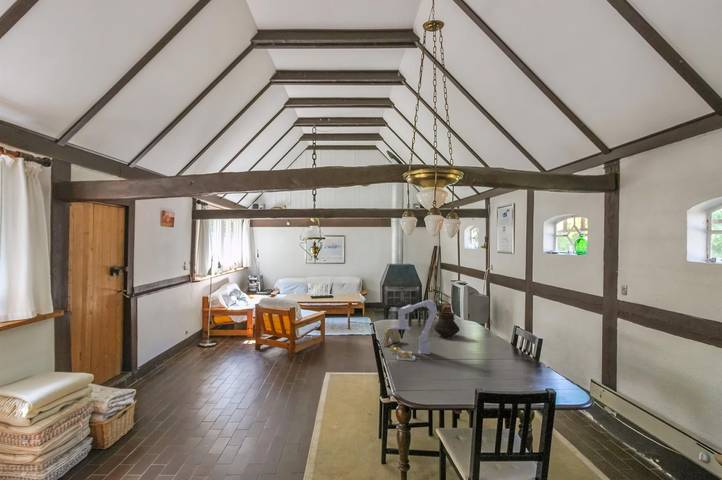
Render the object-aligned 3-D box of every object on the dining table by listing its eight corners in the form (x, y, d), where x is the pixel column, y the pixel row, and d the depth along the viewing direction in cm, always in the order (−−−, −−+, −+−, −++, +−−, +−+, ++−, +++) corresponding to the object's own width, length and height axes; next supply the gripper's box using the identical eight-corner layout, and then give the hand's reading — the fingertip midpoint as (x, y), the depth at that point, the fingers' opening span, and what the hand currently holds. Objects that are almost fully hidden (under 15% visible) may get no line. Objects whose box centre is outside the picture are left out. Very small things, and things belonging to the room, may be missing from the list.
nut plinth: (402, 351, 309) (402, 349, 309) (401, 354, 300) (401, 353, 300) (391, 350, 310) (391, 349, 310) (390, 353, 301) (390, 352, 301)
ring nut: (401, 350, 307) (401, 346, 307) (399, 352, 301) (399, 348, 301) (391, 349, 310) (391, 345, 310) (389, 351, 304) (389, 347, 304)
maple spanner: (411, 356, 290) (411, 351, 290) (411, 358, 286) (411, 352, 286) (397, 355, 292) (397, 350, 292) (397, 357, 287) (397, 352, 287)
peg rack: (415, 357, 292) (415, 352, 292) (415, 360, 283) (415, 355, 283) (397, 356, 294) (397, 351, 294) (396, 359, 285) (396, 354, 285)
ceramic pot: (464, 337, 355) (464, 314, 355) (446, 340, 343) (446, 316, 343) (446, 332, 376) (446, 310, 376) (428, 335, 364) (428, 312, 364)
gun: (385, 347, 321) (386, 329, 322) (382, 346, 323) (383, 328, 324) (400, 343, 340) (401, 327, 341) (397, 343, 342) (398, 326, 343)
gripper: (410, 321, 314) (410, 337, 314) (393, 321, 316) (393, 337, 316) (410, 323, 307) (410, 339, 307) (392, 322, 309) (392, 339, 309)
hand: (401, 338), depth 311 cm, fingers closed
